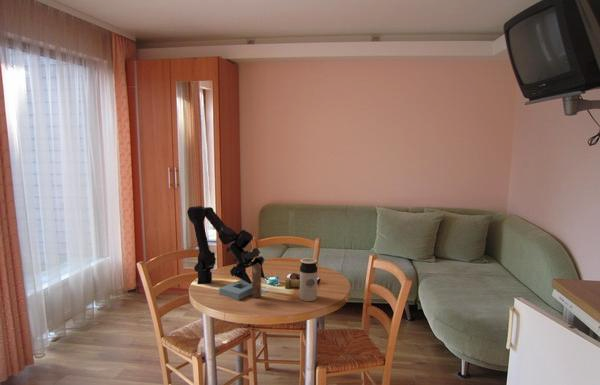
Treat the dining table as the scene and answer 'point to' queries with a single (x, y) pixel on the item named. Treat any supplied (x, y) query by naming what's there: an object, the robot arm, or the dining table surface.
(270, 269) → the dining table surface
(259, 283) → the peg
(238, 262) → the robot arm
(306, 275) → the travel mug
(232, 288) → the socket board
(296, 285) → the gavel
